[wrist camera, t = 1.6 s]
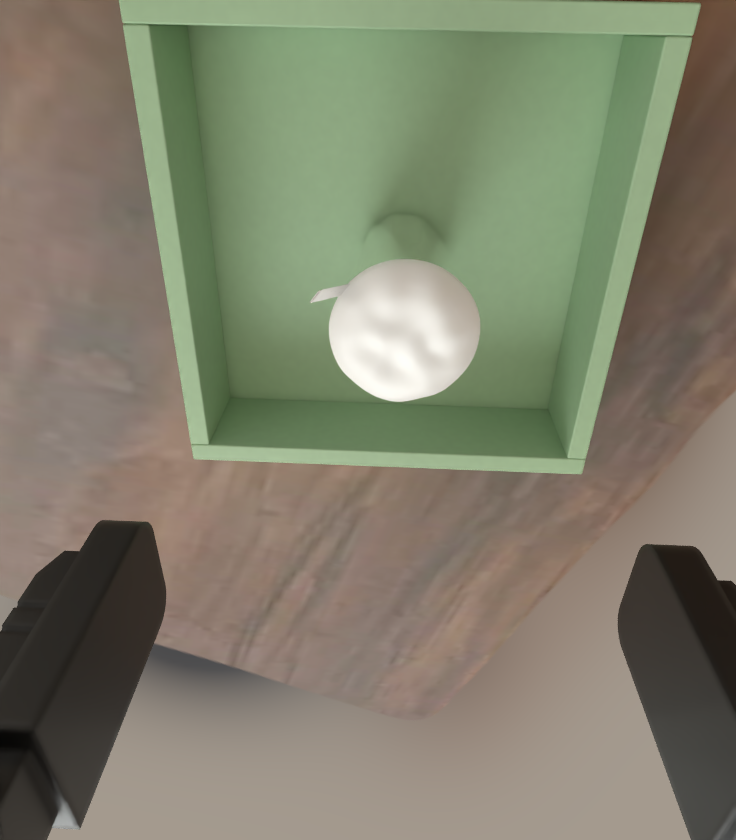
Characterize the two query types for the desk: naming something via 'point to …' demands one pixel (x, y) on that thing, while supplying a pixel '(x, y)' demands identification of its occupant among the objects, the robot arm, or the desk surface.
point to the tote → (401, 208)
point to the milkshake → (403, 314)
